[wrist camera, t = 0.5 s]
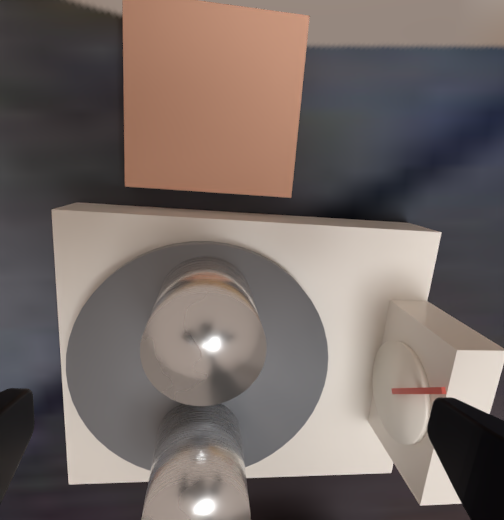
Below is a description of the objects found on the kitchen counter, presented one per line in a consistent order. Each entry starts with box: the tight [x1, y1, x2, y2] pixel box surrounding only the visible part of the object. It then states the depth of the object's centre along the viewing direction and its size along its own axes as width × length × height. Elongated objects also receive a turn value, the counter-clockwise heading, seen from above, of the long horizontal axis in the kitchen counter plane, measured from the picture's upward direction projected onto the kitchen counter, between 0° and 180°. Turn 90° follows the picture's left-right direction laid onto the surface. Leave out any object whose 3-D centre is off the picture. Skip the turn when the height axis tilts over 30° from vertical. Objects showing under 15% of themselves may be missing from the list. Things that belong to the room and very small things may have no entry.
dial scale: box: [51, 202, 504, 505], centre depth 16 cm, size 14×18×8 cm
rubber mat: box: [123, 0, 310, 198], centre depth 17 cm, size 8×8×1 cm
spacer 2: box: [141, 403, 251, 520], centre depth 15 cm, size 4×4×4 cm
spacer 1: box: [140, 256, 267, 406], centre depth 14 cm, size 4×4×4 cm
